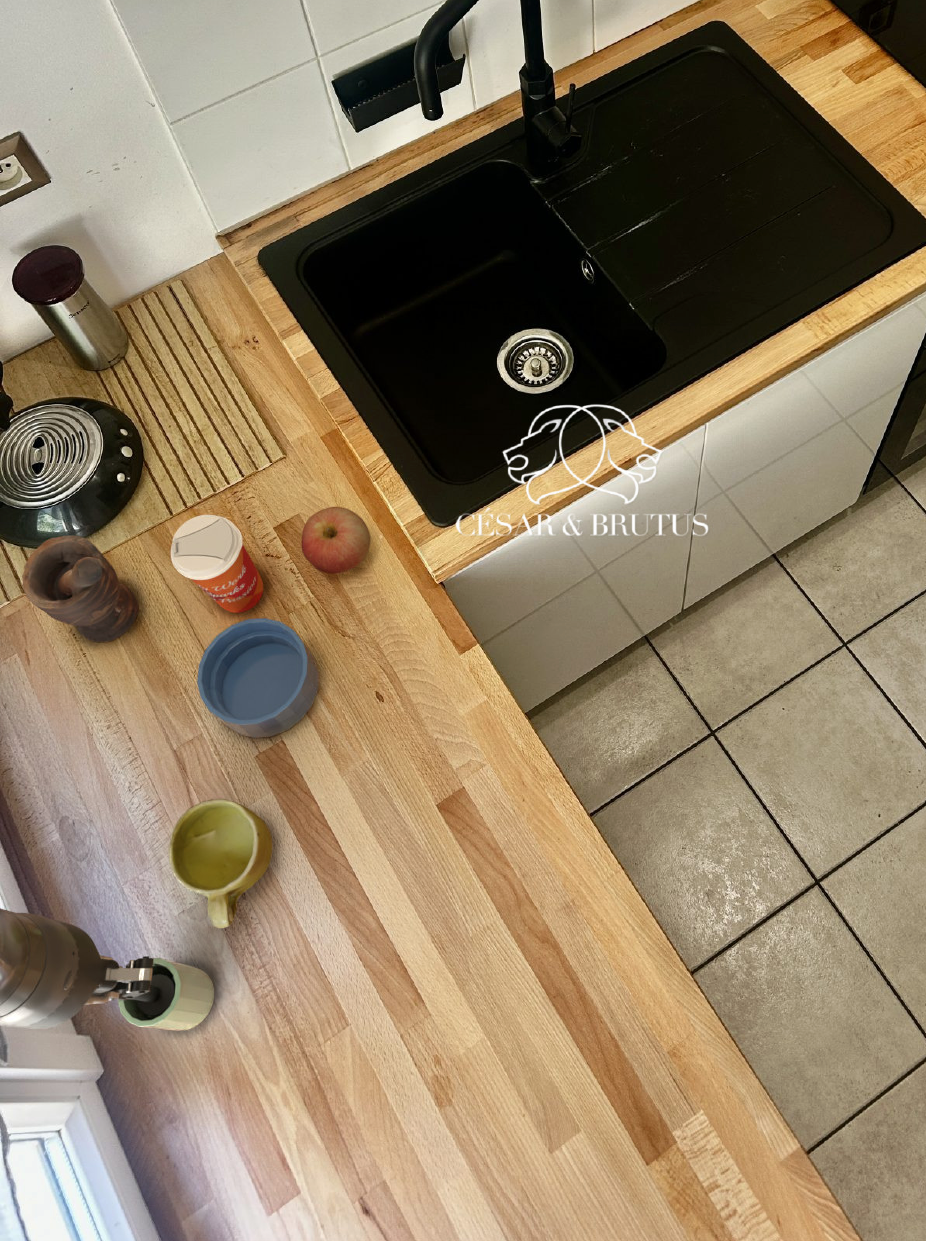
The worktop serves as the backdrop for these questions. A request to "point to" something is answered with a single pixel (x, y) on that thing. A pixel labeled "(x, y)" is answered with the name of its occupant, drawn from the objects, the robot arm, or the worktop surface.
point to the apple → (335, 540)
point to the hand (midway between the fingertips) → (115, 987)
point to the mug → (220, 854)
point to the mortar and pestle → (79, 588)
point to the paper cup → (217, 562)
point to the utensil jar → (176, 999)
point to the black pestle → (157, 995)
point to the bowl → (258, 677)
